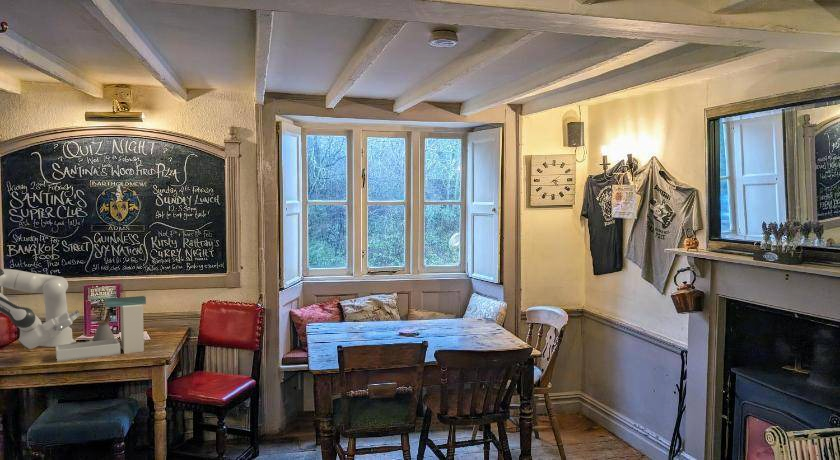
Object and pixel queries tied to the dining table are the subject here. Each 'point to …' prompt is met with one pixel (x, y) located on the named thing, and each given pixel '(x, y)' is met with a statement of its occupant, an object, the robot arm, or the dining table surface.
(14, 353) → the dining table surface
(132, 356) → the dining table surface
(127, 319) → the tall white pillar
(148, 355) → the dining table surface
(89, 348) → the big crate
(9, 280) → the robot arm
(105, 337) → the coffee pot
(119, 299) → the teal rectangular bar
